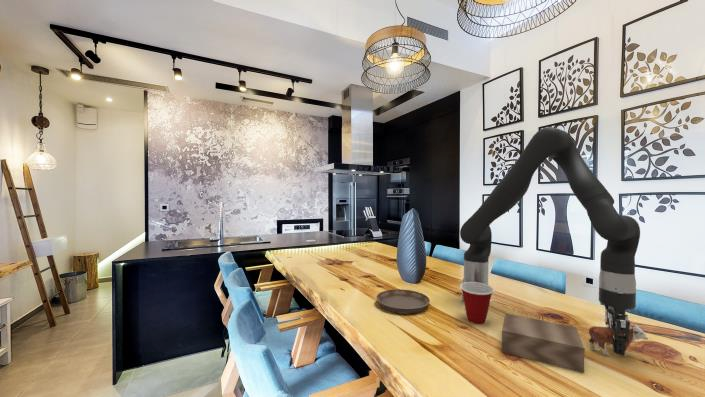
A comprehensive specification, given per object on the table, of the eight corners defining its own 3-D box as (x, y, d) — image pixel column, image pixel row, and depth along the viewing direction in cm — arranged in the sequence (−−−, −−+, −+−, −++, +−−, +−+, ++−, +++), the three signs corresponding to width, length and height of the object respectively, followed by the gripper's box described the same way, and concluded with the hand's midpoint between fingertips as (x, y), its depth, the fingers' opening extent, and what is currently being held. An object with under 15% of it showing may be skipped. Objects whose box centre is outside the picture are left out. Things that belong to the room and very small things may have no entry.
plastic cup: (459, 324, 97) (460, 289, 97) (459, 312, 107) (459, 280, 107) (495, 330, 93) (496, 293, 93) (491, 317, 103) (492, 283, 103)
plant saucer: (407, 321, 99) (407, 312, 99) (365, 304, 115) (365, 296, 115) (440, 307, 113) (440, 298, 113) (399, 293, 128) (399, 286, 128)
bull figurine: (651, 361, 76) (651, 330, 76) (592, 354, 79) (593, 325, 79) (638, 352, 80) (638, 323, 80) (583, 346, 83) (583, 318, 83)
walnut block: (501, 351, 80) (501, 330, 80) (504, 332, 92) (505, 313, 92) (584, 372, 70) (584, 348, 70) (576, 347, 82) (576, 326, 82)
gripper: (594, 279, 87) (593, 335, 88) (605, 292, 75) (604, 357, 75) (627, 283, 84) (626, 341, 84) (644, 297, 71) (643, 366, 71)
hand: (616, 348), depth 79 cm, fingers closed on bull figurine, 5 cm apart
